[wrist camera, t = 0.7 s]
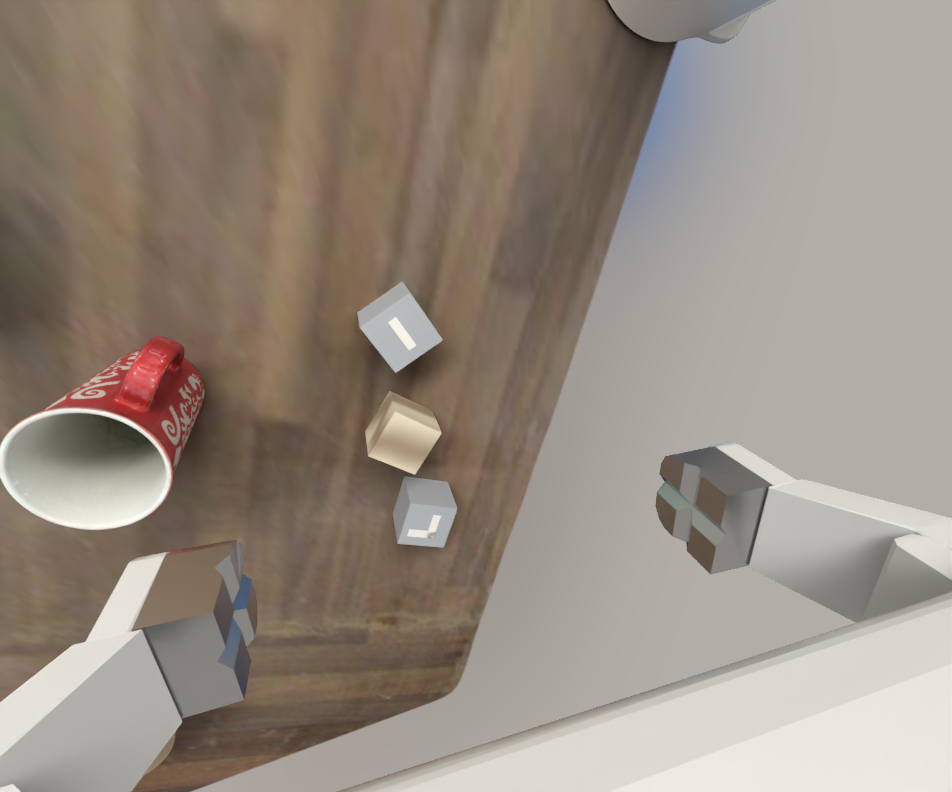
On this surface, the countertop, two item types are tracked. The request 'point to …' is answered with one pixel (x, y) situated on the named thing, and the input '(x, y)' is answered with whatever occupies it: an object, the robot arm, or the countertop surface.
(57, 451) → the mug
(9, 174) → the countertop surface
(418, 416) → the maple block
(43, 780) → the robot arm
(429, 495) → the grey block
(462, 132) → the countertop surface
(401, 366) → the grey block
